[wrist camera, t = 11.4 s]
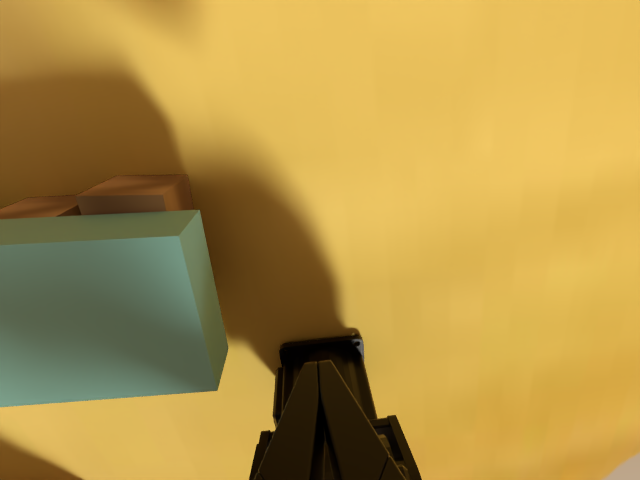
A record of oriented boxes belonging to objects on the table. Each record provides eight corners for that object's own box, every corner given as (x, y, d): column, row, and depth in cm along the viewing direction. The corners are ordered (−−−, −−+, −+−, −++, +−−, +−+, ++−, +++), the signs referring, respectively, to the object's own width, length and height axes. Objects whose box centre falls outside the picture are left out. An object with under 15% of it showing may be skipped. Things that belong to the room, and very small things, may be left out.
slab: (199, 209, 15) (178, 235, 13) (228, 348, 19) (217, 390, 17) (-199, 229, 14) (-312, 261, 12) (-83, 369, 18) (-148, 418, 16)
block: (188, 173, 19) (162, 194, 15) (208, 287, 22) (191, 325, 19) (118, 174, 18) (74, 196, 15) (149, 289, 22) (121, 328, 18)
